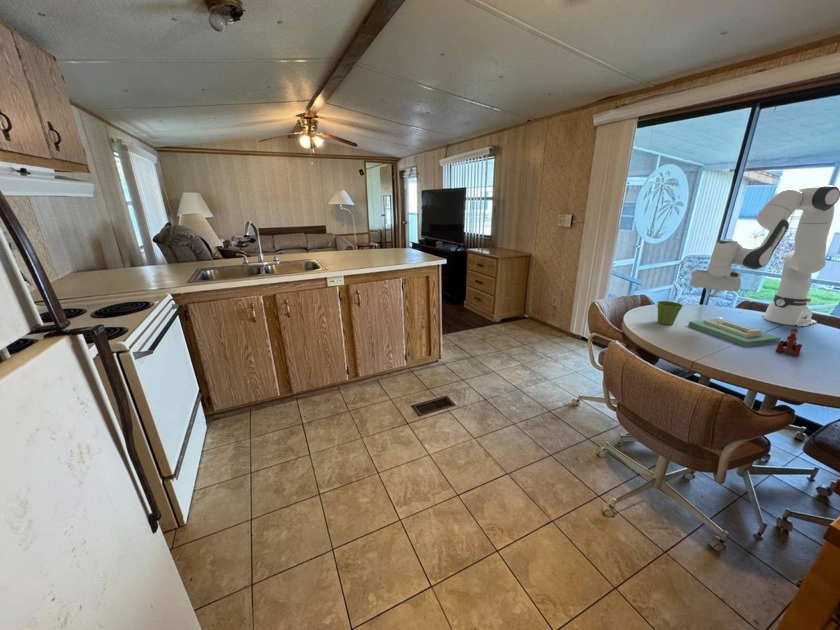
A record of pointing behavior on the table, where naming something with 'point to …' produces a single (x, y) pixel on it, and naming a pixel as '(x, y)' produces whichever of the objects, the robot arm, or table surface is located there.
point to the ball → (719, 320)
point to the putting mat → (735, 332)
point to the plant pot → (668, 311)
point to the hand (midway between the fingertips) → (710, 296)
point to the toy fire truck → (790, 344)
